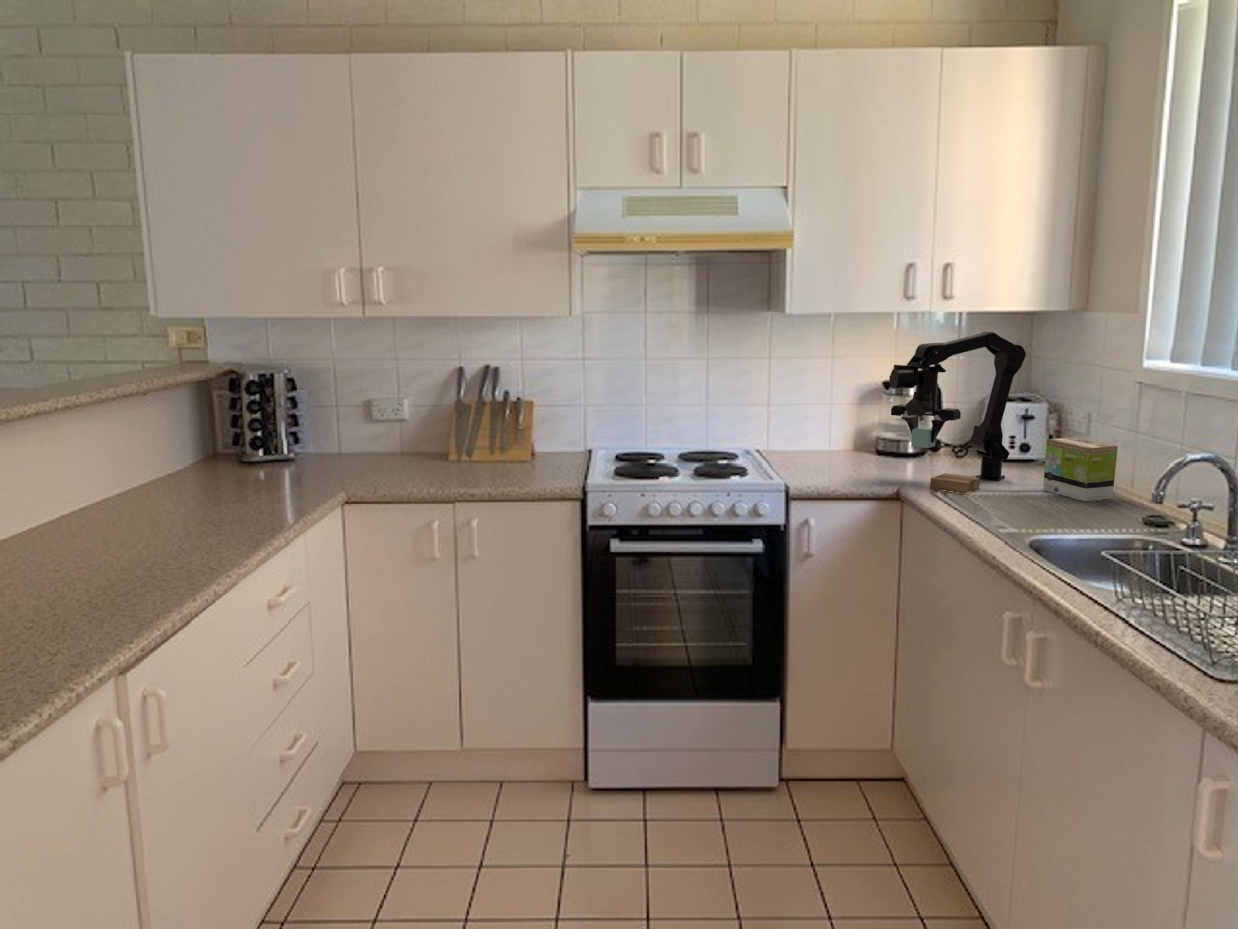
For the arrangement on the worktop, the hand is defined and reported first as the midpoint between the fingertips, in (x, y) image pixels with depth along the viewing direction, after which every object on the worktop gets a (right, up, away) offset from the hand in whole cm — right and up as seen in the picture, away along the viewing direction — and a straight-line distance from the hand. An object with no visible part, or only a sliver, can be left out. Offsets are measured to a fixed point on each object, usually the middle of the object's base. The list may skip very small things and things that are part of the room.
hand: (923, 441), depth 267 cm
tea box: (+36, -15, -17) cm, 43 cm away
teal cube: (0, -1, 0) cm, 1 cm away
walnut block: (+5, -14, -9) cm, 18 cm away
